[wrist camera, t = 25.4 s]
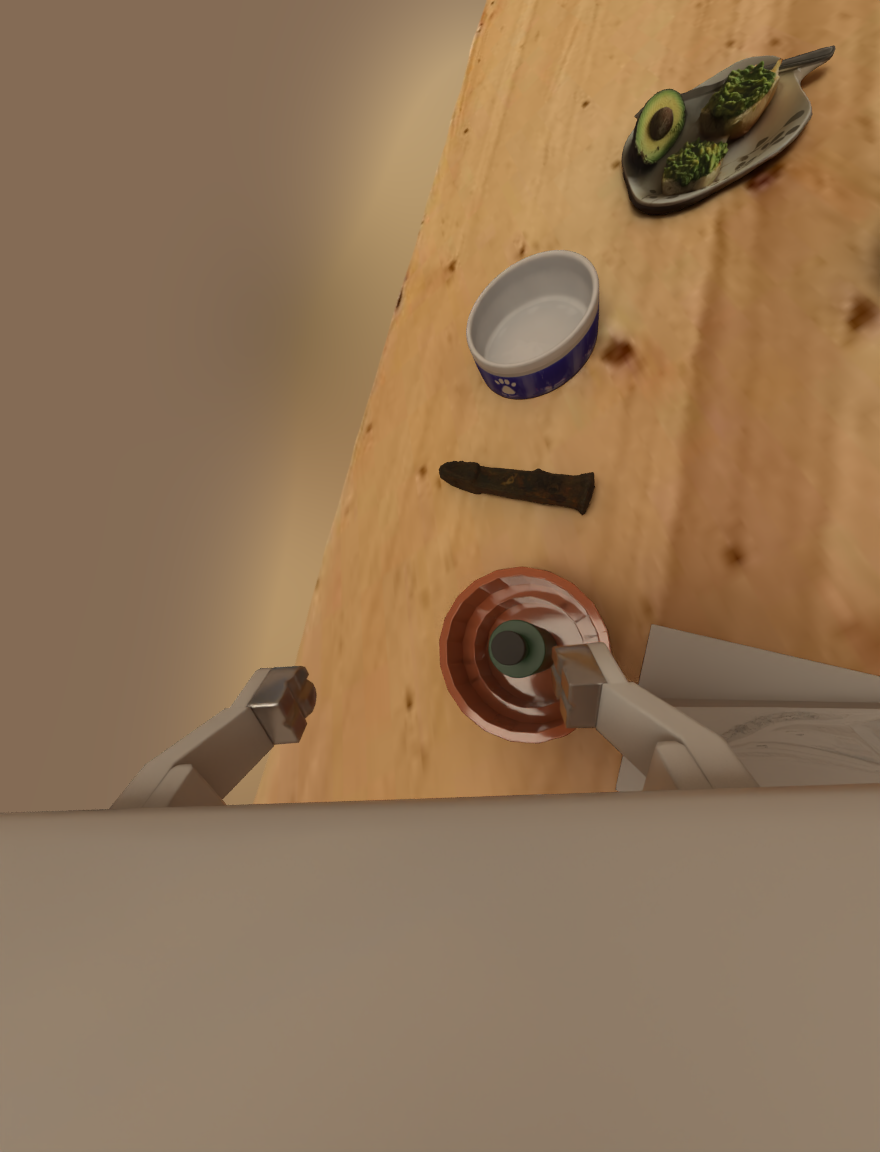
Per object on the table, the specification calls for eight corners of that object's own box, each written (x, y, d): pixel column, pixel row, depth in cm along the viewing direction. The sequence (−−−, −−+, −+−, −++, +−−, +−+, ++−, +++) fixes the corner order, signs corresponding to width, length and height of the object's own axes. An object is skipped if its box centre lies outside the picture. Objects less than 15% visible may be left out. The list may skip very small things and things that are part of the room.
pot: (597, 577, 35) (596, 555, 27) (619, 725, 32) (626, 750, 24) (468, 592, 41) (437, 578, 33) (475, 719, 38) (442, 736, 30)
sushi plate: (801, 31, 38) (826, -44, 34) (856, 132, 34) (892, 60, 29) (612, 144, 46) (613, 94, 42) (637, 238, 41) (641, 193, 37)
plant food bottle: (555, 625, 35) (536, 613, 25) (560, 672, 34) (543, 680, 24) (510, 628, 37) (475, 618, 27) (514, 672, 36) (479, 680, 26)
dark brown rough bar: (598, 485, 37) (598, 465, 33) (586, 519, 37) (584, 502, 33) (453, 463, 46) (439, 444, 42) (443, 490, 46) (428, 474, 42)
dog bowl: (618, 293, 41) (621, 239, 36) (570, 407, 41) (566, 369, 35) (506, 299, 48) (494, 255, 43) (464, 396, 48) (447, 363, 42)
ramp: (1204, 751, 20) (1401, 784, 15) (1186, 1044, 18) (1396, 1185, 13) (651, 624, 32) (660, 619, 28) (615, 789, 31) (618, 814, 26)
